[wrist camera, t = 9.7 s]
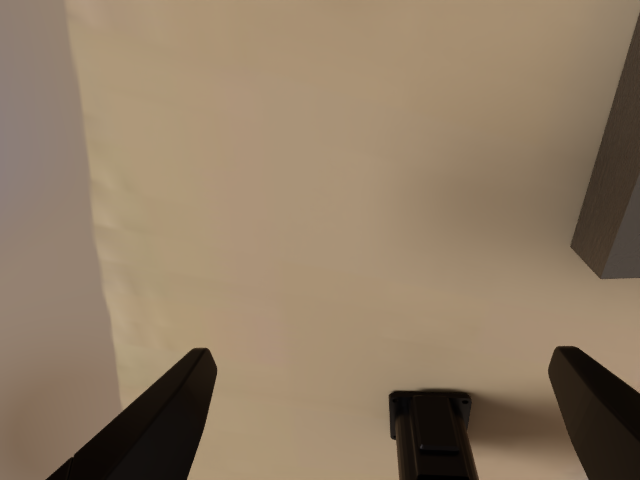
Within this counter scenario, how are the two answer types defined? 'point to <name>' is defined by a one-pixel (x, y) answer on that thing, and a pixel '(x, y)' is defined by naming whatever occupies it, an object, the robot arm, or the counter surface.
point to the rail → (615, 184)
